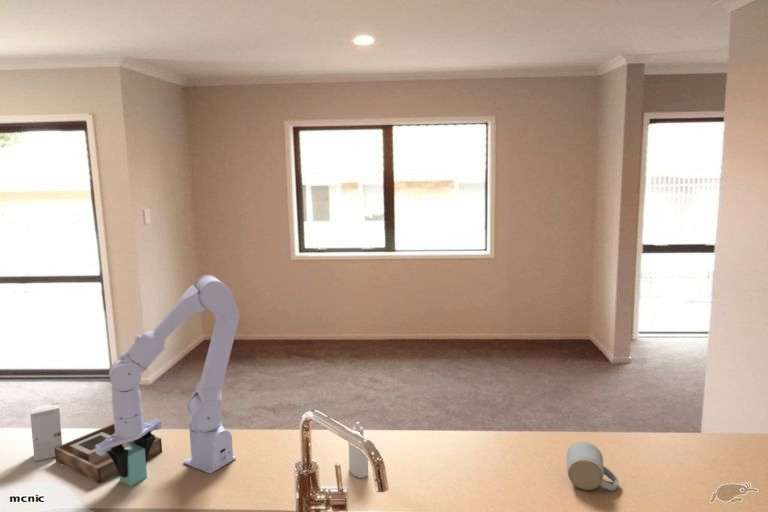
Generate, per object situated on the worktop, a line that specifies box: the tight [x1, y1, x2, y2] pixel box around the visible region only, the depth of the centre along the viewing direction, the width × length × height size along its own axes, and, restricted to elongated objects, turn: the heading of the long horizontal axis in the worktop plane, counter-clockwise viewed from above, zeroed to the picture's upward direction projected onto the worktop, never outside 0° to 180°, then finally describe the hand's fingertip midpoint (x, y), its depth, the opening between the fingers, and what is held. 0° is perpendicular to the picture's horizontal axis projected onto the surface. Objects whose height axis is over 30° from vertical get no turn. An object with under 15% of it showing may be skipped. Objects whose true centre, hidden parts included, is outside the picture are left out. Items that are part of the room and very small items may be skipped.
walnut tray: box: [54, 423, 163, 484], centre depth 130 cm, size 18×16×4 cm
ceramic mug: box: [566, 441, 620, 491], centre depth 116 cm, size 11×8×8 cm
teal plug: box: [119, 444, 148, 487], centre depth 120 cm, size 4×4×7 cm
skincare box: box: [29, 402, 63, 462], centre depth 130 cm, size 6×4×12 cm
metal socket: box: [70, 432, 111, 464], centre depth 129 cm, size 8×8×3 cm
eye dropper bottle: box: [348, 421, 369, 479], centre depth 121 cm, size 4×6×12 cm
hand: (132, 471), depth 120 cm, fingers closed on teal plug, 4 cm apart
